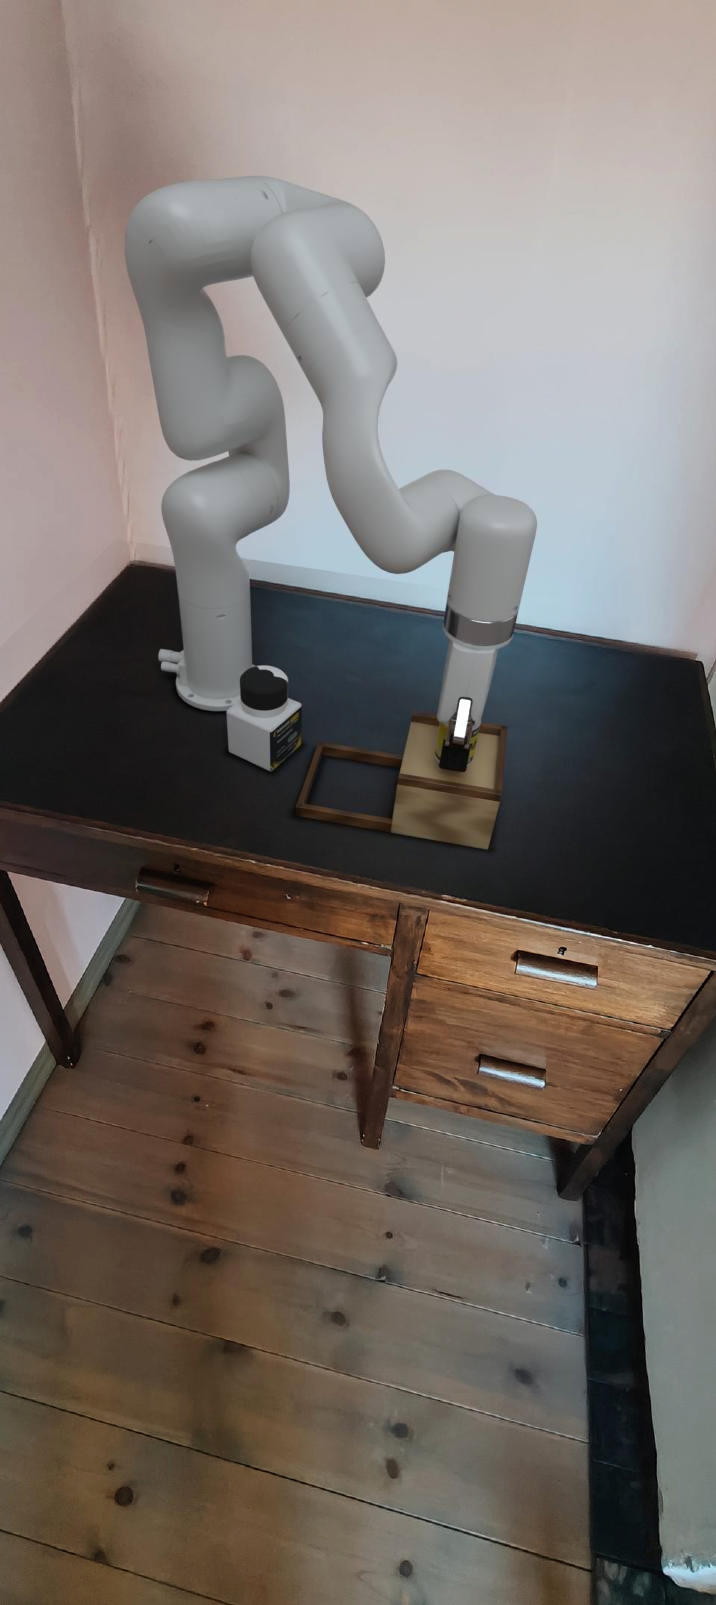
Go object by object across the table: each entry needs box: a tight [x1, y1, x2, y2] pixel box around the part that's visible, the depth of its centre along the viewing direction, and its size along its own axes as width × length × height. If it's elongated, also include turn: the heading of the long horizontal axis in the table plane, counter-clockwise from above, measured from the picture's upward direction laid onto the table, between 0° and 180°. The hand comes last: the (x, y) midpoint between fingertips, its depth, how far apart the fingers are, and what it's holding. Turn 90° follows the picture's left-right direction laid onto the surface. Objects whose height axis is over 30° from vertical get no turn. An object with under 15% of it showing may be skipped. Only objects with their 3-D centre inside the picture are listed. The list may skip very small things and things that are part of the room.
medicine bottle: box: [226, 664, 303, 772], centre depth 108 cm, size 7×7×12 cm
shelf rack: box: [295, 710, 508, 850], centre depth 103 cm, size 24×13×9 cm, turn 79°
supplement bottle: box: [434, 713, 482, 767], centre depth 97 cm, size 5×5×8 cm
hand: (455, 747), depth 99 cm, fingers open, 6 cm apart
